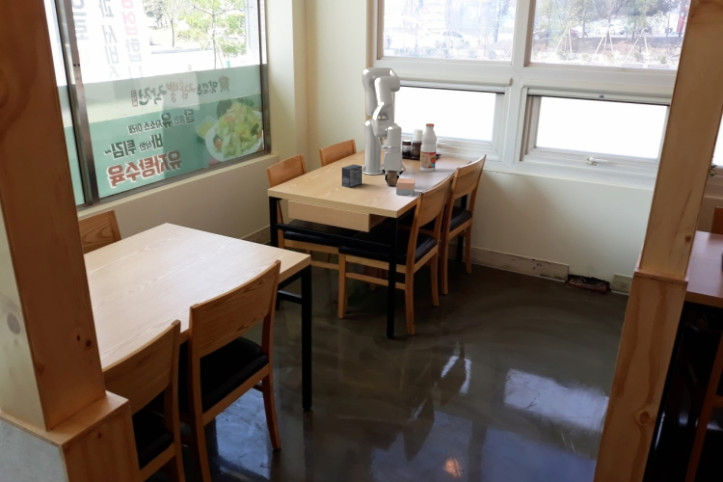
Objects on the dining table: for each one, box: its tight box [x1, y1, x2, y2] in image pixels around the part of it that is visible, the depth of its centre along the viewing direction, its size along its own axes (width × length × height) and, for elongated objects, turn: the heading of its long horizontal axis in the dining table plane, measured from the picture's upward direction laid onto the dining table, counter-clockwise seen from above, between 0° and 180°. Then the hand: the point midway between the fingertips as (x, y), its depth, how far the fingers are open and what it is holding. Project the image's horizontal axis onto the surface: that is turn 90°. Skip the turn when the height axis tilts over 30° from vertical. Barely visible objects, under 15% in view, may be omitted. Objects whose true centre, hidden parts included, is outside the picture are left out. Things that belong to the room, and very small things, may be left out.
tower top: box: [395, 177, 416, 191], centre depth 311 cm, size 9×9×4 cm
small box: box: [341, 164, 363, 189], centre depth 323 cm, size 11×6×10 cm, turn 141°
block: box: [386, 170, 397, 186], centre depth 324 cm, size 5×5×7 cm
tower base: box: [395, 188, 415, 196], centre depth 312 cm, size 9×9×4 cm
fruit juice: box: [419, 123, 437, 173], centre depth 356 cm, size 9×9×28 cm
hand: (392, 181), depth 325 cm, fingers closed on block, 5 cm apart
